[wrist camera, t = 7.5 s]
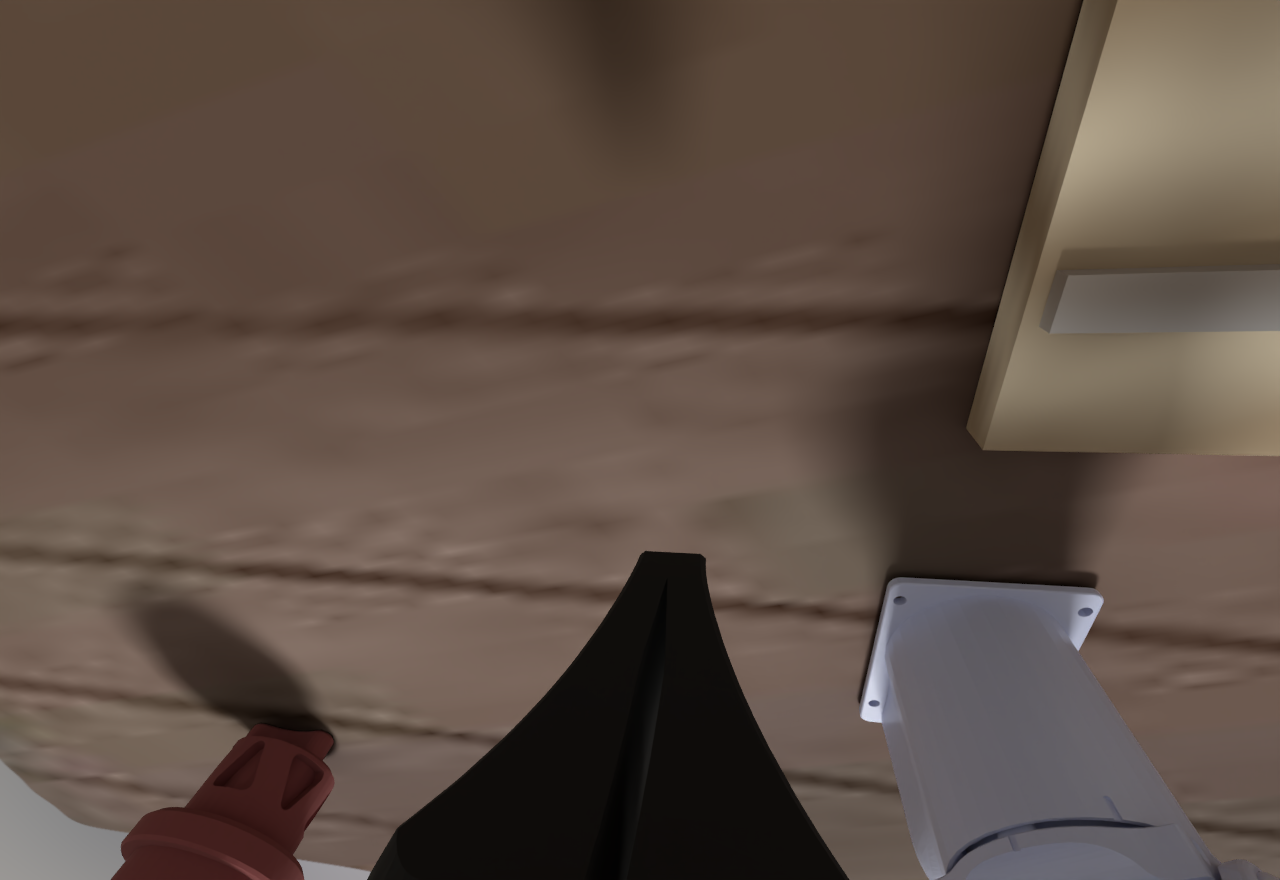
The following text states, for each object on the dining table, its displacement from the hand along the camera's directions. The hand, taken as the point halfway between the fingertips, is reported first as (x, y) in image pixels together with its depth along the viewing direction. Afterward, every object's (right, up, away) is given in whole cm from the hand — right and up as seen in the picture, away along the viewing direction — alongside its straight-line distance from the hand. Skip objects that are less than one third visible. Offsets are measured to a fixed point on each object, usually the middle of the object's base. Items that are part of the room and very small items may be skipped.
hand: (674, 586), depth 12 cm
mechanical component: (-25, -18, +26) cm, 40 cm away
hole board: (+22, +9, +2) cm, 24 cm away
